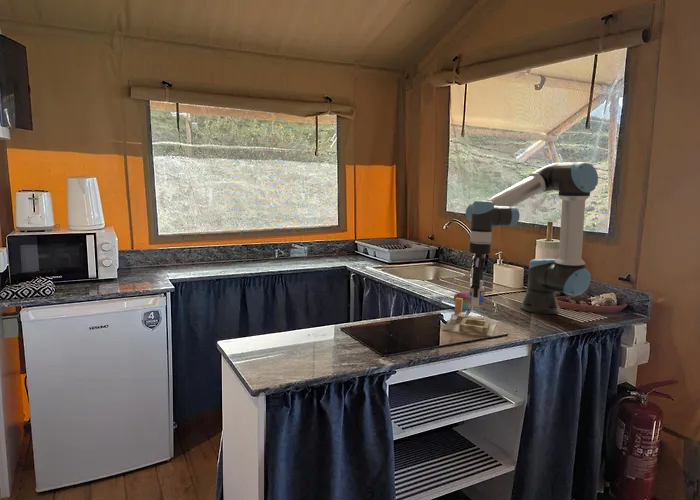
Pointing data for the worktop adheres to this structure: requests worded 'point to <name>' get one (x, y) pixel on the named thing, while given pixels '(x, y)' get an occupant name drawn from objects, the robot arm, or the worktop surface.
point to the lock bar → (457, 310)
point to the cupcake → (465, 298)
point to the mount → (471, 326)
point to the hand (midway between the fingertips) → (476, 303)
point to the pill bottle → (481, 298)
